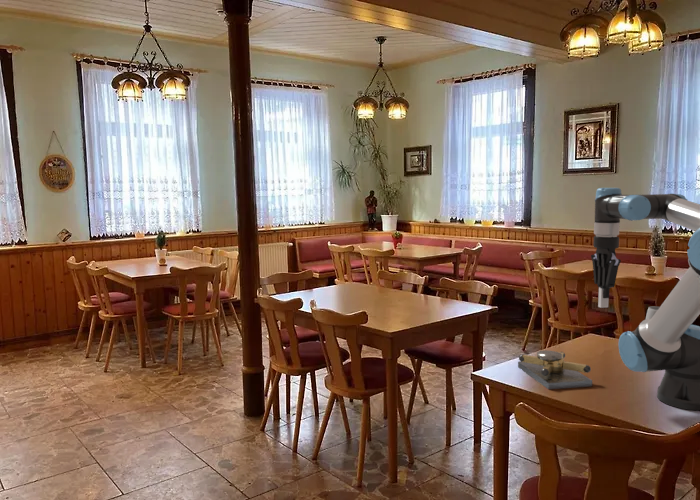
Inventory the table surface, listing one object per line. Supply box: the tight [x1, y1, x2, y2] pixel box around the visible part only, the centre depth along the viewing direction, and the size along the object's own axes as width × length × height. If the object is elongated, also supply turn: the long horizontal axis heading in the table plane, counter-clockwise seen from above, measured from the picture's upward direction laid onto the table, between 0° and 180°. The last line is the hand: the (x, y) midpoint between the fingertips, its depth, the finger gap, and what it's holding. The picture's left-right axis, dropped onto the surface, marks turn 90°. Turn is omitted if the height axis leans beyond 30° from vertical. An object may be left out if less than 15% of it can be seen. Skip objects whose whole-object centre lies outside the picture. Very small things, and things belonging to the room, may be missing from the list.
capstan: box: [518, 349, 592, 376], centre depth 194 cm, size 24×24×5 cm
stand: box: [517, 360, 593, 390], centre depth 194 cm, size 22×15×3 cm
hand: (603, 307), depth 188 cm, fingers closed
